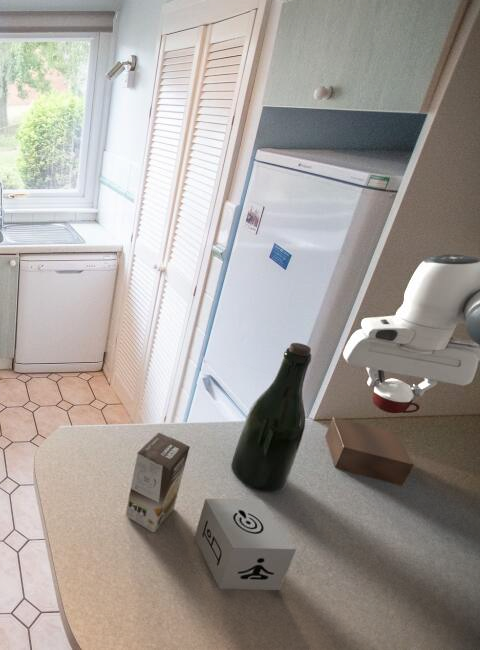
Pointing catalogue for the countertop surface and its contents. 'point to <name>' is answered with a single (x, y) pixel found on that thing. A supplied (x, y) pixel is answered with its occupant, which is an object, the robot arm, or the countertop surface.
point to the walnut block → (368, 451)
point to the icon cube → (243, 544)
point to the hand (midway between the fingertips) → (393, 389)
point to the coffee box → (156, 481)
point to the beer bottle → (274, 426)
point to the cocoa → (393, 395)
